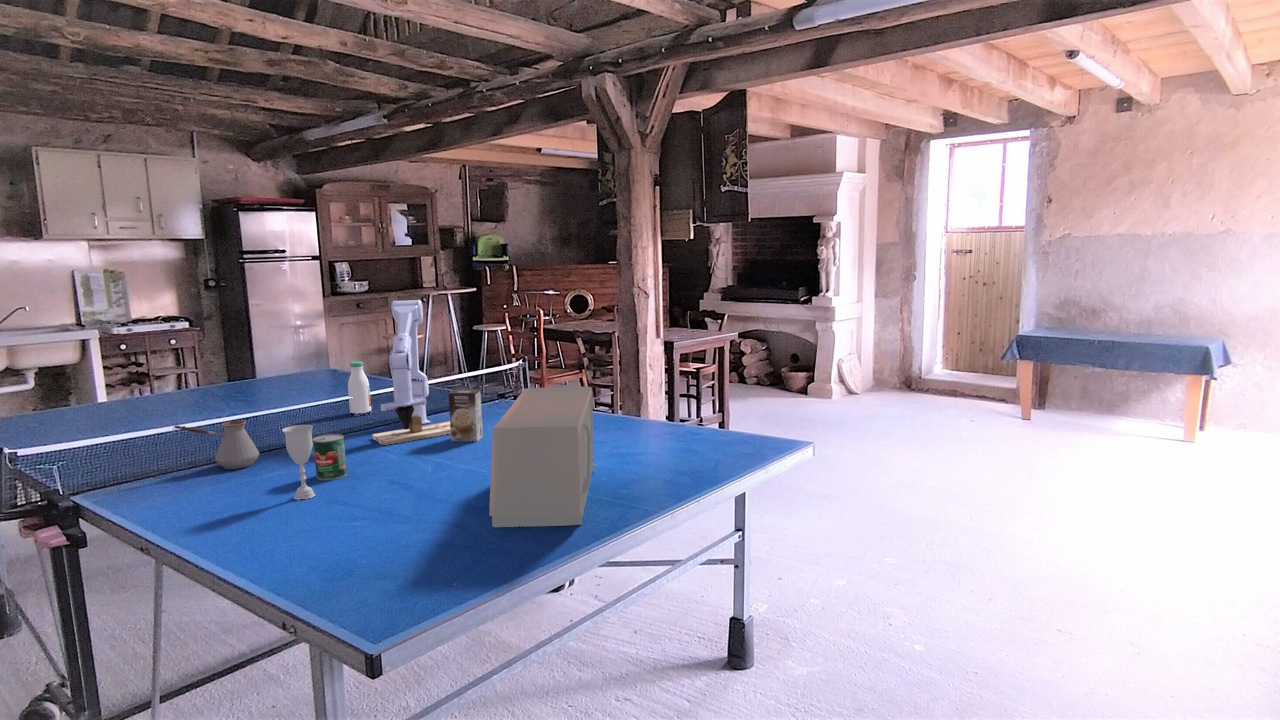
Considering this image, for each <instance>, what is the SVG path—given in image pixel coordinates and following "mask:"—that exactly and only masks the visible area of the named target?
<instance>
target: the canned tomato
mask: <svg viewBox="0 0 1280 720" xmlns="http://www.w3.org/2000/svg"><path fill="white" fill-rule="evenodd" d="M344 438H345V437H344V435H343V434H339V433H332V434H331V433H328V434H323V435H319V436H318V435H317V436H315V437H313V438H312V442H313V452H314V453H313V455H314V465H315V473H316V479H317V480H319V481H333V480H334V481H335V480H338V479H341V478H344V477H346V476H347V475H348V472H347V469H348V468H347V462H346V461H347V459H346V449H345V448H346V447H345V440H344Z"/></svg>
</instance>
